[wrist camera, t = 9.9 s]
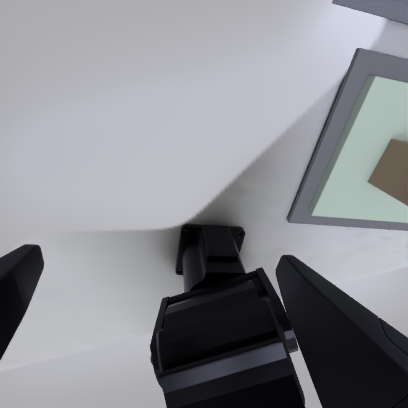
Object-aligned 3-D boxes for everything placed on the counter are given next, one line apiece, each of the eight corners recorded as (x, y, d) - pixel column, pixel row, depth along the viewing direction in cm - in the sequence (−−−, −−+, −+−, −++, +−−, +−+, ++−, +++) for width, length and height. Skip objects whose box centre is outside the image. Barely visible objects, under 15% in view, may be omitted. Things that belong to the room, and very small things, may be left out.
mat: (405, 228, 27) (409, 230, 27) (287, 220, 24) (288, 222, 24) (509, 84, 20) (515, 84, 19) (356, 48, 17) (360, 48, 17)
